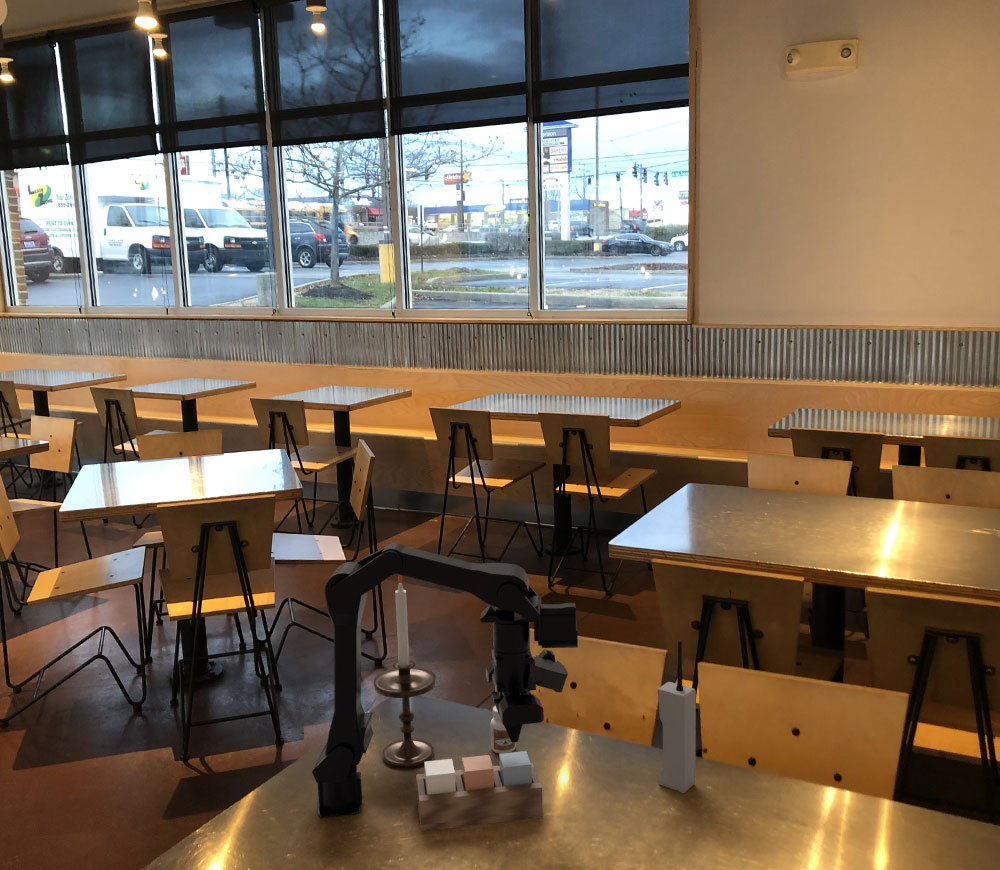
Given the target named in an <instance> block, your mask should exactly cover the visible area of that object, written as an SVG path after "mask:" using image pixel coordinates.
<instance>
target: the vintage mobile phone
mask: <svg viewBox="0 0 1000 870" xmlns="http://www.w3.org/2000/svg"><path fill="white" fill-rule="evenodd" d="M682 643H683V642H682V641H681V640H678V641H677V670H676V671H677V672H676V682H672V681H667V682H665V683H664V684H663V685H661V686H660V687H658V688H657V700H658V711H659V713H658V714H659V719H660V722H661V724H662V769H661V771H660V773H659V774H658V777H657V784H659V786H662V787H666V788H669V789H671V790H674V791H677V792H680V793H682V794H685V793H686V792H687V791H688V790H689V789H690V788H692V787H693V786H694V785H695V784H696V749H697V748H696V732H697V731H696V727H697V725H696V721H697V719H696V717H697V716H696V714H697V711H696V710H697V709H696V708H697V707H696V706H697V701H696V700H697V695H696V694H697V692H696V689H695V688H692V687H689V686H686V685H683V663H682V662H683V661H682V660H683V659H682V658H683V656H682V655H683V653H682V652H683V649H682V647H683V645H682Z"/></svg>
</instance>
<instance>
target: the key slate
mask: <svg viewBox="0 0 1000 870" xmlns="http://www.w3.org/2000/svg"><path fill="white" fill-rule="evenodd" d="M498 755H499V756H498V757H499V758H498V760H499V766H500V779H501V782H502V786H503V787H504V786H513V785H522V784H531V783H532V772H531V761H530V757H529V755H528V752H527V751H526V750H524V751H523V750H522V751H512V752H510V753H503V754H499V753H498Z"/></svg>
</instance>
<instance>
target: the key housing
mask: <svg viewBox="0 0 1000 870" xmlns="http://www.w3.org/2000/svg"><path fill="white" fill-rule="evenodd" d="M530 762H531V761H530ZM534 765H535V764H534V762H531V772H532V783H531V784H522V785H513V786H504V787H503V786H502V782H501V779H500V765H492V766H493V772H494V788H485V789H476V790H467V791H465V788H464V784H463V772H462V769H457V770H455V769H454V770H455V786H456V792H449V793H440V794H431V795H427V793H426V786H425V773H417V774H415V775H416V776H415V777H416V778H415V781H416V782H415V783H416V798H417V803H416V804H417V810H418V818H419V825H420V827H419V828H420V831H421V832H425V831H435V830H443V829H453V828H460V827H461V828H462V827H469V826H478V825H487V824H497V823H504V822H505V823H506V822H514V821H522V820H530V819H539V818H543V817H544V813H543V811H544V809H543V807H544V806H543V802H544V801H543V786H542V784H541V781H540V778H539V776H538V773H537V770H536V767H535V766H534Z"/></svg>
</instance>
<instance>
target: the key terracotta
mask: <svg viewBox="0 0 1000 870" xmlns="http://www.w3.org/2000/svg"><path fill="white" fill-rule="evenodd" d="M493 766H494V765H493V763H492V759H491V756H490V755H489V754H485V755H477V756H476V755H475V756H467V757H461V767H462V769H461V770H462V772H463V784H464V788H465V791H467V790H476V789H485V788H494V772H493Z"/></svg>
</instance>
